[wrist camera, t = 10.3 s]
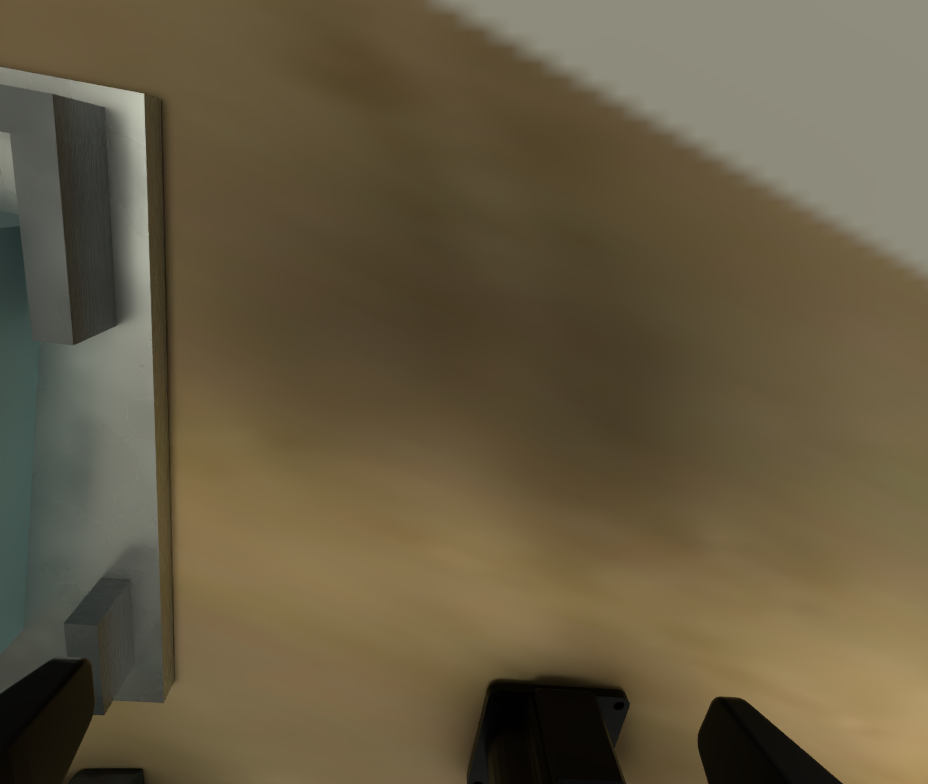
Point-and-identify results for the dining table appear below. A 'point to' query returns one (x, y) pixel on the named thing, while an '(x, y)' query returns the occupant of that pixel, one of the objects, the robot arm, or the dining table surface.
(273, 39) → the dining table surface
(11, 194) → the cup bracket
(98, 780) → the ceramic cat
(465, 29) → the dining table surface
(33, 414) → the rail
